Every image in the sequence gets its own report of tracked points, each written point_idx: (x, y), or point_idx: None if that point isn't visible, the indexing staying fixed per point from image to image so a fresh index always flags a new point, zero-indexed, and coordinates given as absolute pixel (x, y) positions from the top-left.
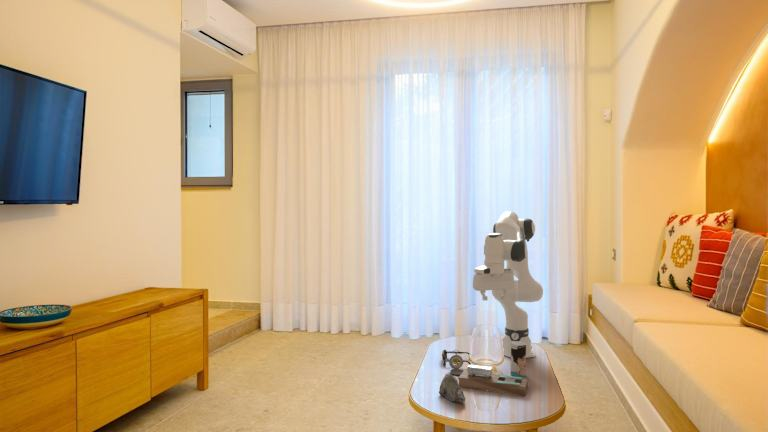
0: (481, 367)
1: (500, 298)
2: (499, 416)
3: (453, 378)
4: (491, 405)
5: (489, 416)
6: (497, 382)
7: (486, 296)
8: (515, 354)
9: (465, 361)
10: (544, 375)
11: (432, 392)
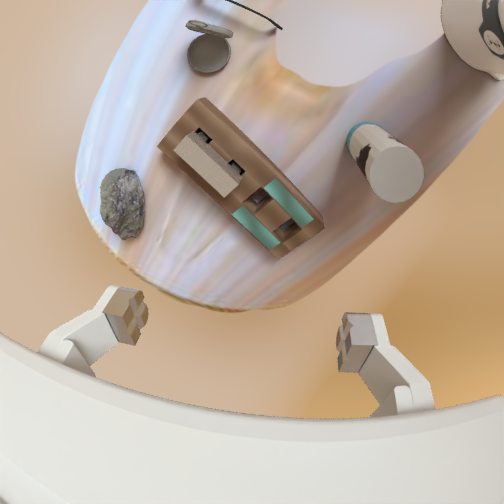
0: (209, 171)
1: (346, 314)
2: (181, 280)
3: (107, 224)
4: (188, 247)
5: (167, 274)
6: (232, 214)
7: (126, 340)
8: (362, 171)
9: (259, 14)
10: None
11: (106, 152)
